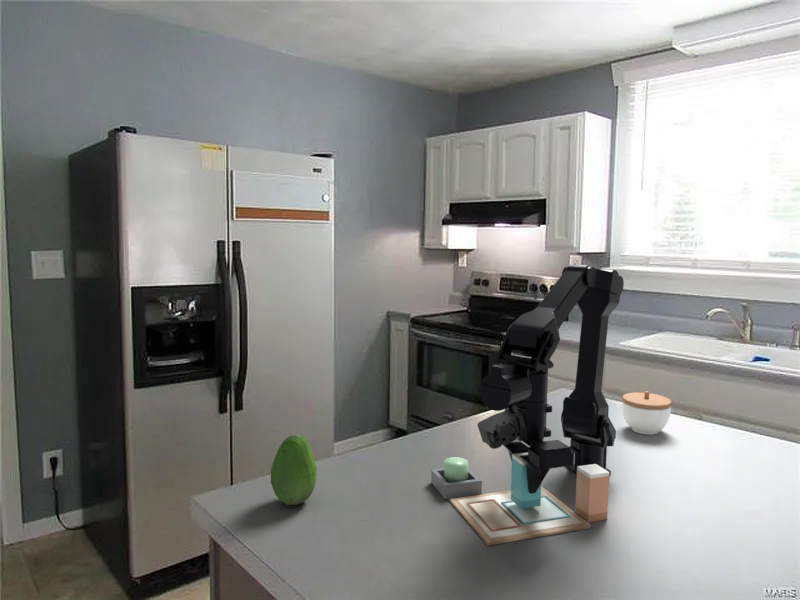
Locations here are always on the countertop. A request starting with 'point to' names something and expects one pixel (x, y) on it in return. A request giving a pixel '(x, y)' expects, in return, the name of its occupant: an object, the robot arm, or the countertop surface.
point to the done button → (455, 469)
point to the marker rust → (592, 492)
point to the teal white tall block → (522, 484)
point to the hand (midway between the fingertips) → (526, 488)
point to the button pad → (456, 485)
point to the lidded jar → (646, 412)
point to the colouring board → (516, 517)
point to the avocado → (294, 471)
